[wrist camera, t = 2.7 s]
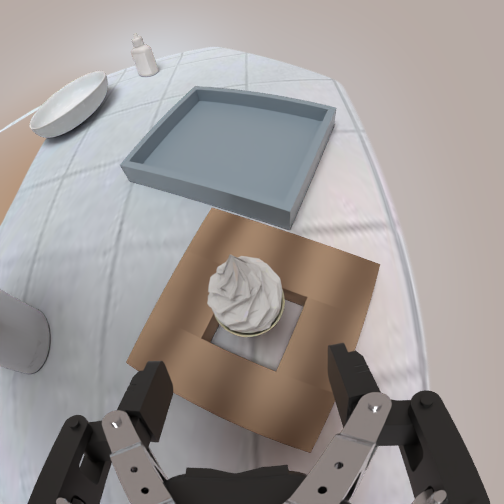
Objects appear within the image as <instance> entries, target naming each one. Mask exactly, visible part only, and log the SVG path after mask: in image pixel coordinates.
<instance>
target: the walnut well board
mask: <svg viewBox="0 0 504 504" xmlns="http://www.w3.org/2000/svg"><path fill="white" fill-rule="evenodd" d="M230 254H231V255H233V256H235V257H237V258H238V257H240V256H247V257H252V258H259V259H260V260H262V261H263V262H264V263H267V264H268V265H269V267H270V268H271V269H272V270H273V271H274V272H275V273H276V274H277V275H278V276H279V278H280V280H281V286H282V290H283V293H284V299H286V300H288V301H291V302H294V303H296V304H299V305H302V306H304V307H303V310H302V312H301V315H300V317H299V320H298V322H297V325H296V327H295V329H294V332H293V334H292V336H291V339H290V341H289V343H288V346H287V348H286V350H285V353H284V355H283V357H282V360H281V362H280V364H279V366H278V369H277V371H273V370H271V369H268V368H266V367H263V366H261V365H259V364H256V363H254V362H251V361H249V360H247V359H245V358H242V357H240V356H238V355H235V354H233V353H231V352H229V351H227V350H224V349H222V348H220V347H218V346H216V345H214V344H212V343H210V342H211V340H212V338H213V336H214V334H215V332H216V329H217V327H218V325H219V323H218V321H217V319H216V317H215V315H214V312H213V311H212V308H211V307H209V305H208V304H207V302H208V295H209V293H210V292H208V287H209V282H210V277H211V276H212V275H214V274H215V273H216V272H217V267H218V266H220V265H222V264H223V263H225V262H226V261H227V259H228V258H229V255H230ZM379 267H380V264H378V263H375V262H372V261H370V260H367V259H364V258H361V257H358V256H356V255H353V254H350V253H347V252H344V251H342V250H339V249H336V248H333V247H330V246H327V245H324V244H321V243H319V242H316V241H313V240H310V239H307V238H304V237H301V236H298V235H295V234H292V233H289V232H286V231H283V230H280V229H277V228H274V227H271V226H268V225H265V224H262V223H259V222H256V221H253V220H250V219H246V218H243V217H240V216H237V215H234V214H231V213H228V212H224V211H221V210H218V209H215V208H211V210H210V211H209V213H208V215H207V216H206V218H205V220H204V221H203V223H202V225H201V226H200V228H199V230H198V231H197V233H196V235H195V236H194V238H193V240H192V241H191V243H190V245H189V246H188V248H187V250H186V252H185V253H184V255H183V257H182V259H181V260H180V262H179V264H178V266H177V267H176V269H175V271H174V273H173V274H172V276H171V278H170V280H169V282H168V283H167V285H166V287H165V289H164V291H163V292H162V294H161V296H160V298H159V300H158V302H157V303H156V305H155V307H154V309H153V311H152V313H151V315H150V317H149V318H148V320H147V322H146V324H145V326H144V328H143V330H142V332H141V334H140V336H139V338H138V340H137V342H136V344H135V346H134V348H133V350H132V352H131V354H130V356H129V358H128V360H127V362H126V363H127V364H129V365H130V366H132V367H133V368H135V369H136V370H138V371H143V370H144V368H145V366H146V364H147V362H148V361H163V362H164V363H165V366H166V368H167V371H168V373H169V376H170V378H171V381H172V383H173V392H174V393H175V394H177V395H179V396H181V397H182V398H184V399H186V400H188V401H190V402H192V403H194V404H195V405H197V406H199V407H201V408H203V409H205V410H207V411H209V412H211V413H213V414H215V415H217V416H219V417H221V418H223V419H225V420H228V421H230V422H232V423H234V424H236V425H239V426H241V427H243V428H245V429H248V430H250V431H252V432H255V433H257V434H260V435H262V436H265V437H267V438H270V439H272V440H275V441H278V442H280V443H283V444H286V445H289V446H291V447H294V448H297V449H300V450H303V451H306V452H309V453H311V451H312V449H313V447H314V445H315V443H316V441H317V439H318V437H319V435H320V433H321V431H322V428H323V426H324V424H325V422H326V420H327V418H328V415H329V413H330V411H331V409H332V406H333V404H334V402H335V398H334V395H333V392H332V388H331V385H330V382H329V378H328V345H333V344H338V343H344V344H345V346H346V348H347V350H348V352H351V351H354V350H355V348H356V345H357V342H358V339H359V336H360V333H361V330H362V327H363V324H364V320H365V317H366V314H367V311H368V307H369V304H370V300H371V297H372V293H373V290H374V286H375V282H376V279H377V275H378V271H379Z"/></svg>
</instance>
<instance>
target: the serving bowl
mask: <svg viewBox="0 0 504 504" xmlns="http://www.w3.org/2000/svg"><path fill="white" fill-rule="evenodd" d="M107 89H108V81H107V76H106V73H105V72H103V71H96V72H92V73H89V74H87V75H84V76H82V77H80V78H78V79H76V80H74V81H72V82H70V83H69V84H67V85H66V86H64V87H63V88H61V89H60V90H59V91H58V92H56V93H55V94H54V95H52V96H51V97H50V98H49V99H48V100H47V101H46V102H45V103H44V104H43V105H42V106H41V107H40V108H39V109H38V110H37V111H36V113H35V114H34V116H33V117H32V119H31V122H30V128H31V129H32V131H33V132H35V133H36V134H37V135H39V136H41V137H46V138H51V137H56V136H59V135H62V134H64V133H66V132H68V131H70V130H72V129H73V128H75V127H77V126H78V125H79V124H81V123H82V122H83V121H85V120H86V119H87V118H88V117H89V116H90V115H92V114H93V113H94V112H95V111H96V109H97V108H98V107H99V106H100V105H101V103H102V101H103V100H104V98H105V96H106V93H107Z"/></svg>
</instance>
